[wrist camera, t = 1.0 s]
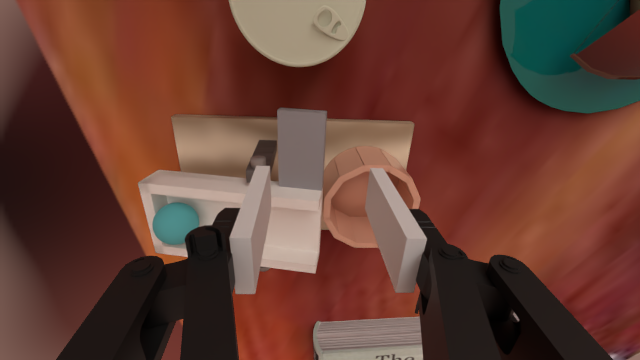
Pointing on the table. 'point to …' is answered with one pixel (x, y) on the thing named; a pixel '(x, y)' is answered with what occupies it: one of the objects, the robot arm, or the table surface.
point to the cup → (359, 192)
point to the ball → (174, 223)
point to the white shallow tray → (286, 194)
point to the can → (298, 28)
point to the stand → (273, 143)
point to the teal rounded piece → (574, 51)
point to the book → (369, 339)
